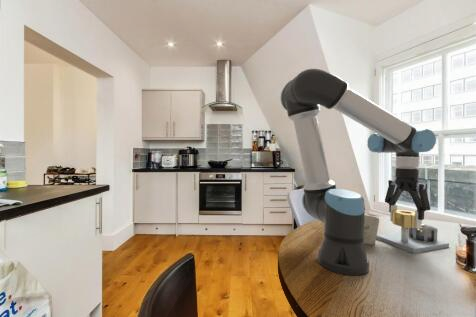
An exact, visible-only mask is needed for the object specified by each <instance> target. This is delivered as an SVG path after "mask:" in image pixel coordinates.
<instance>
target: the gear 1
mask: <svg viewBox="0 0 476 317" xmlns="http://www.w3.org/2000/svg"><path fill="white" fill-rule="evenodd" d="M391 223H392V224H393V225H395V226H399V227H407V228H415V211H411V210H405V209H397V210H394V211H392V221H391Z"/></svg>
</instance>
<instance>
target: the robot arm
mask: <svg viewBox="0 0 476 317" xmlns="http://www.w3.org/2000/svg"><path fill="white" fill-rule="evenodd" d="M280 104H281V106H282V107H283V108H284V110H286V112H287V117H288V119H290V120H291V121H292V122H293V125H294V129H295V135H296V139H297V145H298V147H299V148H298V149H299V154H300V158H301V164H302V168H303V172H304V178H305V184H304V185H303V187H302V188H303V195H302V198H301V203H302V207H303V209H304V210H305V212H306V213H307V214H308V215H310V217H312V218H314V219H317V220H318V221H320V222H322V223H324V227H323V228H324V229H323V230H324V231H323V233H324V234H323V240H322V243H321V245H320V249H319V250H318V253H317V261H318V263H319V265H321V266H322V267H324V268H325V269H327V270H329V271H331V272H334V273H338V274H342V275H347V276H361V275H365V274H367V273H368V272H369V271H370V261H369V258H368V256H367V251H366V248H365V244H364V243H363V241H364V215H365V213H366V212H365V211H366V207H365V204H366V202H365V199H364V197H363V196H362V195H361V194H360V193H358V192H356V191H353V190H347V189H342V188H337V186H336V182H335V181H333V180H332V179H331V178H330V173H329V168H328V164H327V159H326V158H327V157H326V154H325V148H324V145H323V139H322V135H321V130H320V124H319V120H318V115H319V113H320V111H321V107H324V108H326V109H328V110H332V109H334V110H336V111H338V112H339V113H341V114H343V116H346V117H348V118H349V119H351V120H353V121H355V122H356V123H358V124H360V125H361V126H363V127H364V128H366V129H368V130H370V131H371V132H374V133H372V134H370V135H369V137H368V138H367V148H368V150H369V151H370V152H372V153H378V154H380V153H385V154H386V153H388V154H389V153H395V167H396V168H395V171H394V172H395V173H394V174H395V178H396V179H389V180H388V181H387V182H388V186H387V190H386V194H385V198H384V203H386V204H388V205H389V206H388V209H389V210H388V212H389V213H390V218H389V219H390V220H389V221H390V222H392V211H394V210H398V205H397V202H398V200H399V198H400V196H401V195H402V193H403V192H406V193H408V194H409V195H410V197H411V199H412V202H413V203H414V205H415V208H416V210H415V211H414V212H415V228H422V224H423V220H424V219H425V212H426V211H431V204H430V200H429V196H428V193H427V188H428V184H427V183H420V182H419V180H418V179H419V177H420V175H419V171H420V170H419V169H418V168H419V164H420V162H419V161H420V153H427V152H430V151H432V150H433V149H434V147H435V146H436V144H437V137H436V134H435V133H434V131H433V130H431V129H428V128H419V129H418V128H415V126H412V125H410V124H409V123H407V122H406V121H404V120H402V119H400V117H397V116H396V115H394V114H393V113H391V112H389V111H388V110H386V109H384V108H383V107H381V106H380V105H377V104H376V103H374V102H373V101H371V100H369V99H368V98H366V97H364V95H361V94H360V93H358V92H357V91H355V90H353V89H351V88H350V87H349V83H348V82H347V81H346V80H344V79H342V78H341V77H339V76H337V75H335V74H333V73H331V72H328V71H325V70H323V69H318V68H309V69H305V70H303V71H301V72H299V73H298V74H297V75H296V76H294V78H293V79H291V80H289V81H288V82H287V83H286V84H284V86H283V88H282V90H281V92H280Z"/></svg>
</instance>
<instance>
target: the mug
mask: <svg viewBox="0 0 476 317" xmlns="http://www.w3.org/2000/svg"><path fill="white" fill-rule="evenodd" d="M379 225H380V219H379V218H378V217H376V216H372V215H364V241H363V243H364V245H371V246H372V245H373V246H374V245H375V244H376V241H377V239H376V236H377V235H378V231H379Z"/></svg>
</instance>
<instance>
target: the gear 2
mask: <svg viewBox="0 0 476 317" xmlns="http://www.w3.org/2000/svg"><path fill="white" fill-rule="evenodd" d="M408 236H409V237H411V238H413V239H416V240H420V241H425V242H436V240H438V228H437V227H434V226H432V225H428V224H424V223H422V228H409V234H408Z"/></svg>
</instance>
